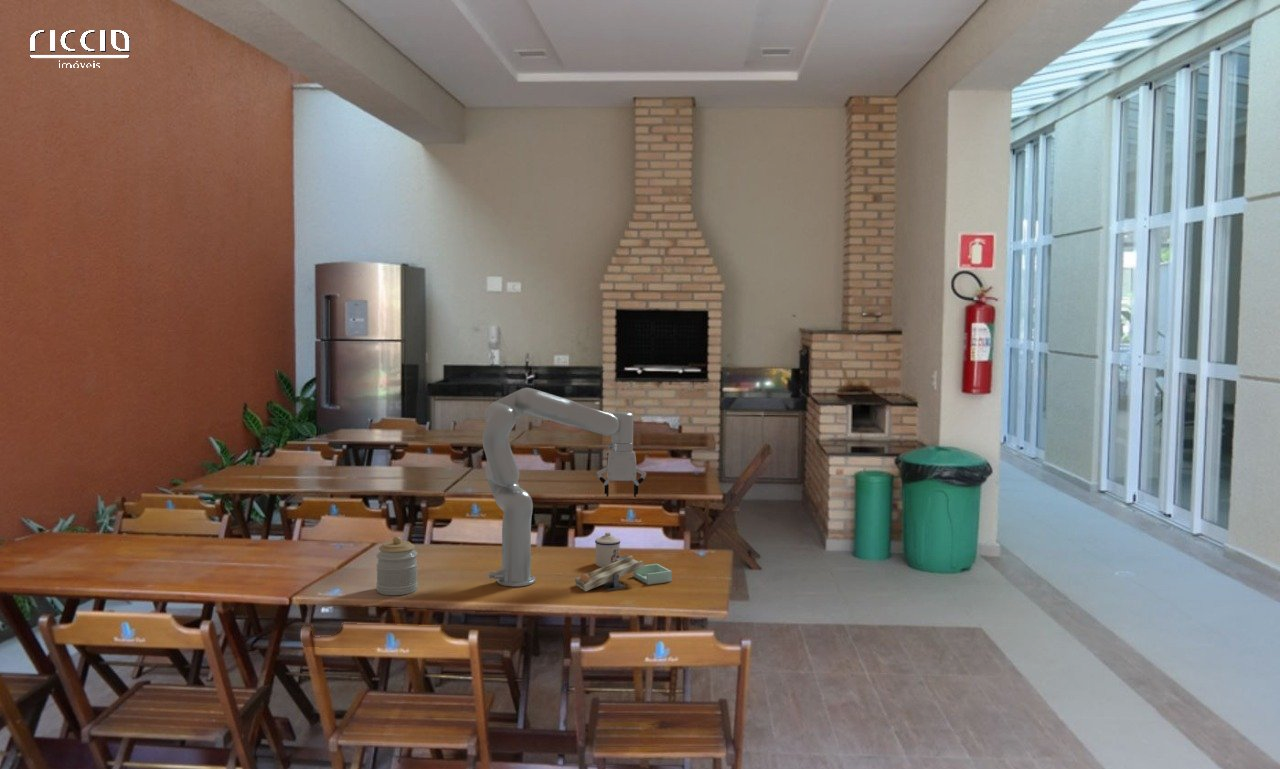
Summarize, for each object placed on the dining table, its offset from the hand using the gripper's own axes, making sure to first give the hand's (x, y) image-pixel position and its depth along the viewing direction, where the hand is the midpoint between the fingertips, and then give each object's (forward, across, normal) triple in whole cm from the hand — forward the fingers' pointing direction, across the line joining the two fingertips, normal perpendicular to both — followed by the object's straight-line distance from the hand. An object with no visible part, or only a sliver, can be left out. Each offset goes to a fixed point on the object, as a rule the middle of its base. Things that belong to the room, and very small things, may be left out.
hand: (621, 496), depth 328 cm
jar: (+28, -72, -23) cm, 81 cm away
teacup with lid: (+27, -4, +10) cm, 29 cm away
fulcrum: (+27, -4, -17) cm, 32 cm away
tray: (+26, +11, -10) cm, 30 cm away
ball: (+24, -12, -21) cm, 33 cm away
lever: (+24, -5, -14) cm, 28 cm away
